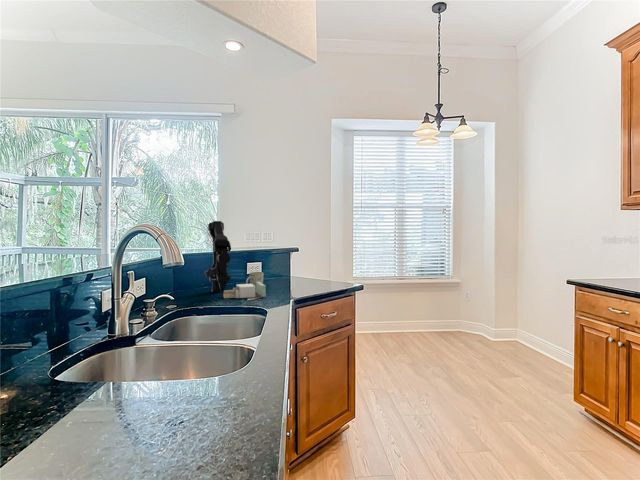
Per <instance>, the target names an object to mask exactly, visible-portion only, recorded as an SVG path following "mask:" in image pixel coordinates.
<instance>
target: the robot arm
mask: <svg viewBox="0 0 640 480" xmlns="http://www.w3.org/2000/svg"><path fill="white" fill-rule="evenodd" d="M224 230H225V225H224V222H223V221H222V220H214V221H212V222H209V223H208V224H207V231H208V232H209V236H210V237H211V240H212V257H213V258H212V260H213V261H212V262H213V263H212V265H211V268H209V269H207V270H204V275H205V277H206V278H207V279H208V278H209V282H210V283H211V285H212V286H211V290H210V291H211V292H212V293H222V294H223V292H224V291H225V289H226V287H227V285H228V282H229V281H231V275H229V272H228V267H229V263H230V262H231V256H230V254H229V252H231V250H232V246H231V242H230V240H229V238H228V236H226V235H225V234H224Z"/></svg>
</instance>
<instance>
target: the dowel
mask: <svg viewBox="0 0 640 480" xmlns="http://www.w3.org/2000/svg"><path fill="white" fill-rule="evenodd" d="M222 297H223V299H233V298H235V299H236V290H233V289H228V290H225V289H224V292H223V293H222Z"/></svg>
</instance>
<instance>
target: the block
mask: <svg viewBox="0 0 640 480" xmlns="http://www.w3.org/2000/svg"><path fill="white" fill-rule="evenodd" d="M235 286H236V287H232V290H236V297H235V299H246V298H247V299H248V298H255V297H256V291H255V286H254V285H253V284H251V283H248V284H246V283H240V284H236V285H235Z"/></svg>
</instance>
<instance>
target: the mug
mask: <svg viewBox="0 0 640 480" xmlns="http://www.w3.org/2000/svg"><path fill="white" fill-rule="evenodd" d="M248 282H250V283H248ZM256 282H260V283H262V284H264V272H262V271H251V272H249V274H248V277H247V278H246V280H245V284H253V285H254V286H255V292H256Z"/></svg>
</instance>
